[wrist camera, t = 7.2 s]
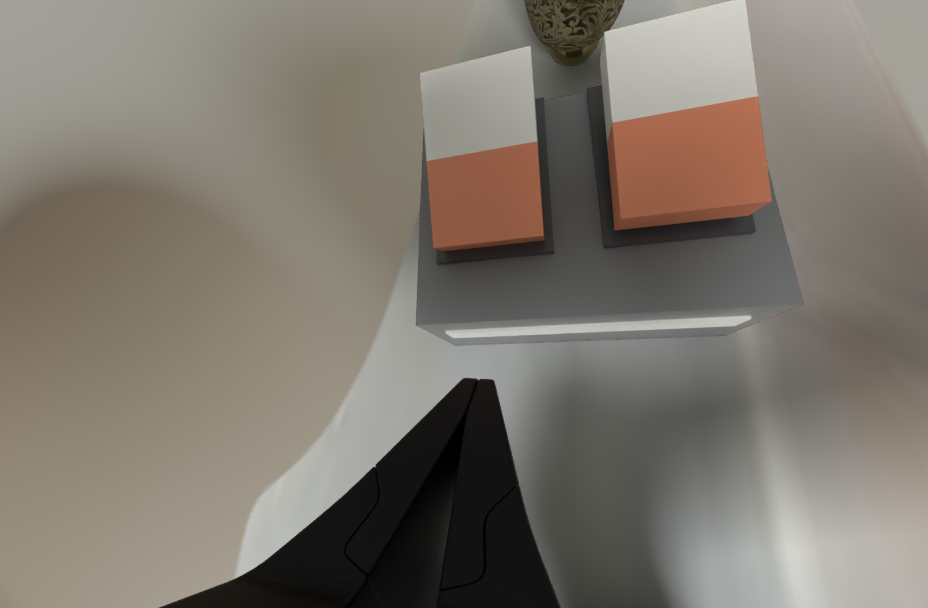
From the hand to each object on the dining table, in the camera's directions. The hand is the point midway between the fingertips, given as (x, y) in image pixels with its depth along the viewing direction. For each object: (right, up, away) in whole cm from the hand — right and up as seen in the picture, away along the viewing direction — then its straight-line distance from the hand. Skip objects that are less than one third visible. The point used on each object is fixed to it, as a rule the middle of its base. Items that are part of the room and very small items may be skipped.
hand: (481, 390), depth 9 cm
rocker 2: (+8, +10, +6) cm, 14 cm away
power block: (+7, +6, +14) cm, 17 cm away
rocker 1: (+1, +9, +8) cm, 12 cm away
